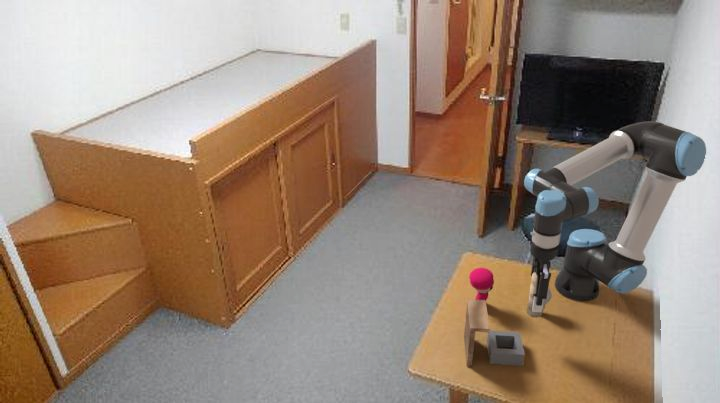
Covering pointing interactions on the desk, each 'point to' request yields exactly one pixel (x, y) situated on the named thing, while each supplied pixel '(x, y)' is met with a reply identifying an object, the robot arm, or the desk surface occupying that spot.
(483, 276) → the toy
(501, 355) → the socket
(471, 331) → the wooden lipped block
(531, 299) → the peg
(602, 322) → the desk surface
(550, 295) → the lightbulb
